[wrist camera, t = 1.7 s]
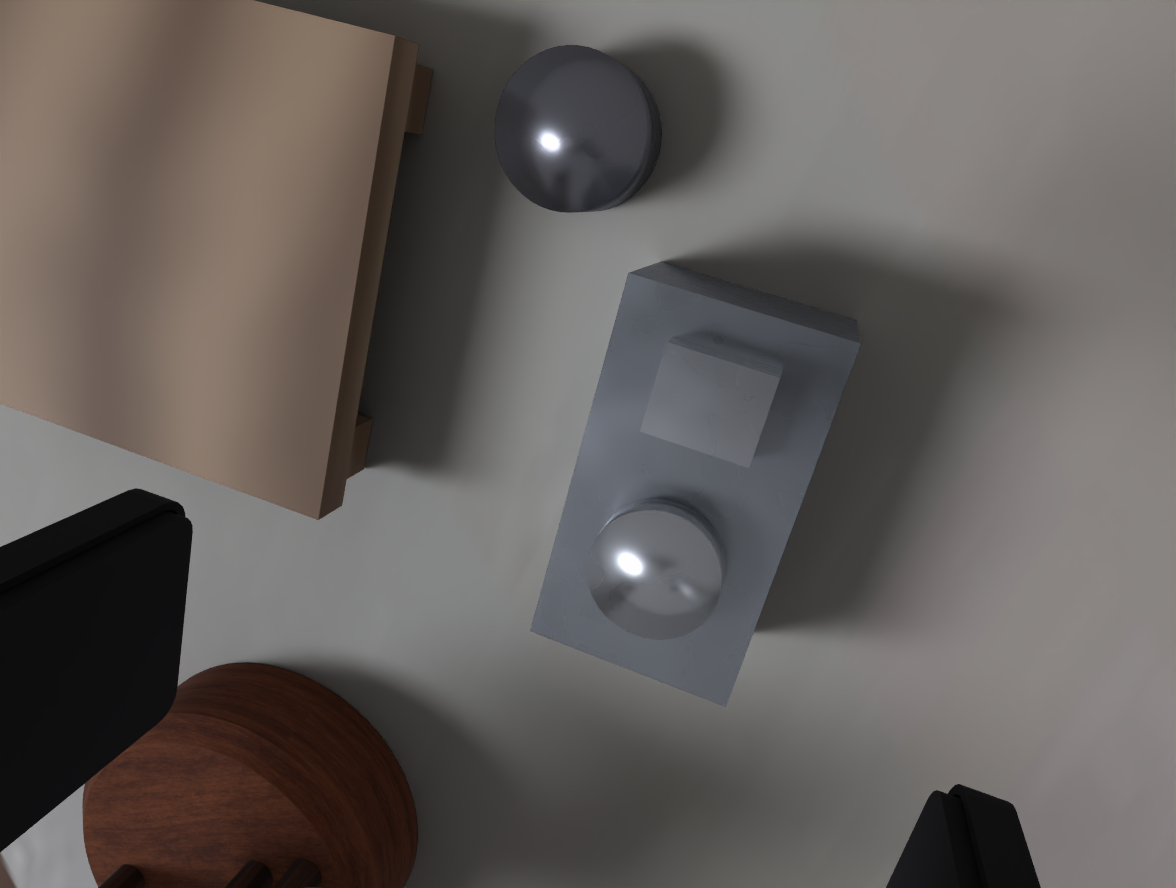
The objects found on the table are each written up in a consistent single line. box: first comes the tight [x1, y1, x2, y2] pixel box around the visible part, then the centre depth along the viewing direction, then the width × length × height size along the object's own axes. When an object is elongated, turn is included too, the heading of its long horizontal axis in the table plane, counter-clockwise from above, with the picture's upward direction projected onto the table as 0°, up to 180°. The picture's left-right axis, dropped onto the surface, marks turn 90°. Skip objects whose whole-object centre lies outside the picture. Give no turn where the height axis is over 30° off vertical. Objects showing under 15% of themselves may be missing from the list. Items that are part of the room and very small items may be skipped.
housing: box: [530, 262, 861, 707], centre depth 21 cm, size 5×9×5 cm, turn 165°
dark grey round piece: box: [495, 45, 662, 212], centre depth 21 cm, size 4×4×2 cm
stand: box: [0, 0, 433, 520], centre depth 24 cm, size 12×12×3 cm
